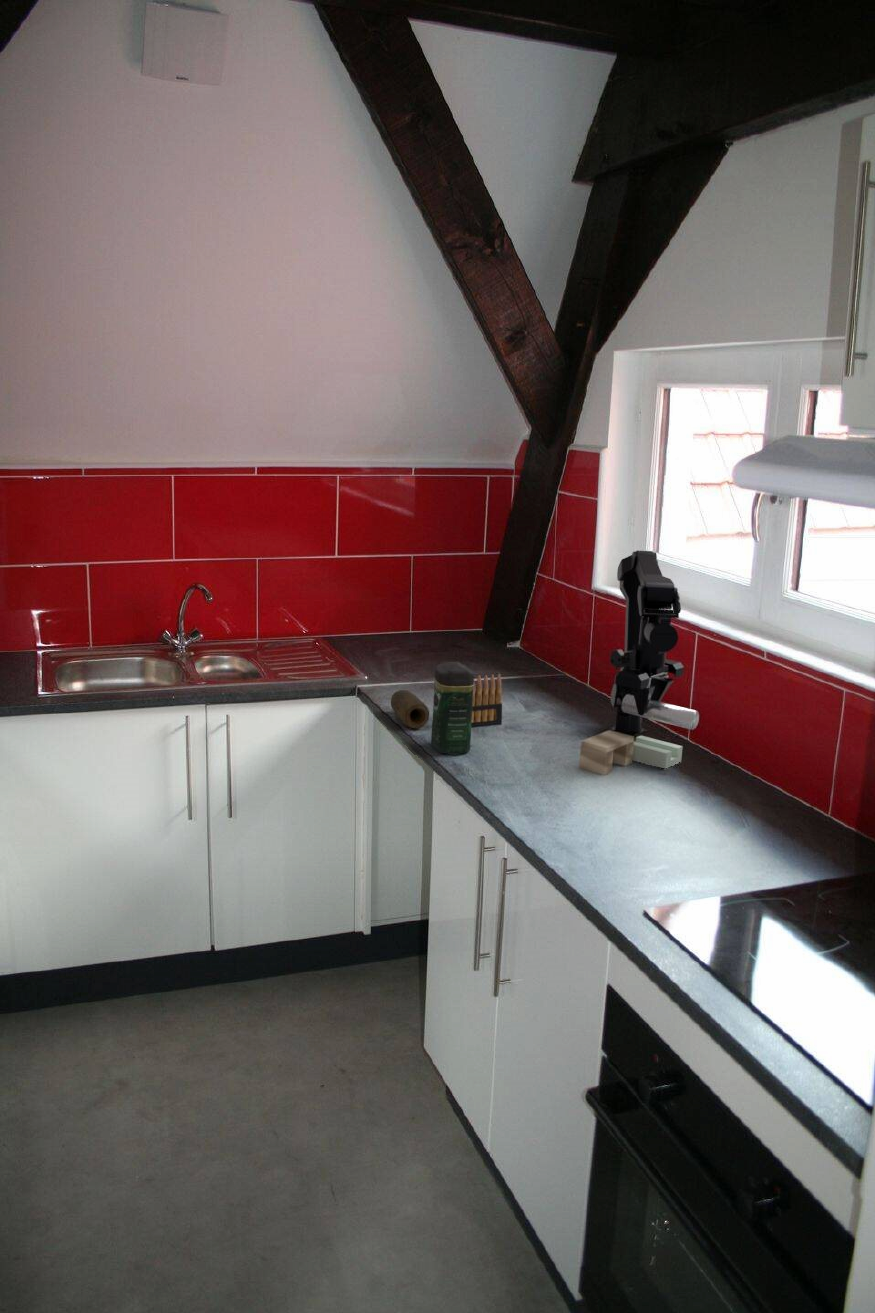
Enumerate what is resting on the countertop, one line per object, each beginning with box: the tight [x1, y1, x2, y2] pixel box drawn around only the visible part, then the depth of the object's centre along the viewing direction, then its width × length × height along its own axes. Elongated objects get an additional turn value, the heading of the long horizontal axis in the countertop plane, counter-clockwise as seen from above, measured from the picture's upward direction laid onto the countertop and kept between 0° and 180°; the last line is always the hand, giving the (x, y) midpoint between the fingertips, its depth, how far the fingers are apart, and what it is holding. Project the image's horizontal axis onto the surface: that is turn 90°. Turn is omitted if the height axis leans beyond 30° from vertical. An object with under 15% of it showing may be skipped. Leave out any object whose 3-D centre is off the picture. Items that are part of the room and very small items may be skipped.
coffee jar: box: [430, 661, 475, 755], centre depth 233 cm, size 10×8×19 cm
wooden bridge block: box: [578, 729, 635, 776], centre depth 228 cm, size 11×6×6 cm, turn 140°
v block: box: [632, 735, 684, 769], centre depth 233 cm, size 7×10×4 cm
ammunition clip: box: [471, 673, 503, 729], centre depth 251 cm, size 11×2×12 cm, turn 117°
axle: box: [622, 694, 700, 731], centre depth 230 cm, size 16×4×4 cm, turn 49°
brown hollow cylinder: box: [390, 689, 430, 730], centre depth 252 cm, size 15×7×7 cm, turn 20°
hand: (646, 712), depth 232 cm, fingers closed on axle, 4 cm apart
